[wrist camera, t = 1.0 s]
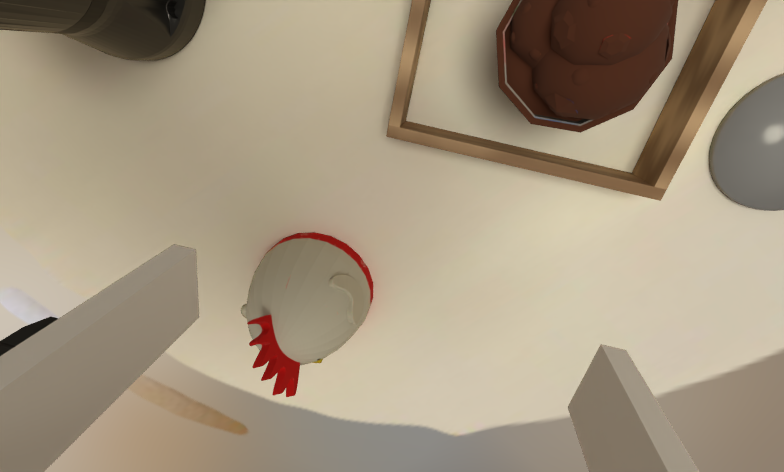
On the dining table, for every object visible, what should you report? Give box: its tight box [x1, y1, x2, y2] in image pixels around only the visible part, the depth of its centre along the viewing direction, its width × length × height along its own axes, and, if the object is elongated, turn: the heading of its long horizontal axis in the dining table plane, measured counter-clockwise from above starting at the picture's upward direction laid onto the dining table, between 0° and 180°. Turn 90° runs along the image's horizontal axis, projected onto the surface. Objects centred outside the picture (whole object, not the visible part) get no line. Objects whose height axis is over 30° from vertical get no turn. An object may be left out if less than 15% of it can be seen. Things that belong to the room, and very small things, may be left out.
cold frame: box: [386, 0, 767, 201], centre depth 30 cm, size 19×24×6 cm
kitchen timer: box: [241, 232, 373, 397], centre depth 40 cm, size 14×14×15 cm
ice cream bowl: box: [496, 0, 678, 132], centre depth 26 cm, size 11×11×15 cm
